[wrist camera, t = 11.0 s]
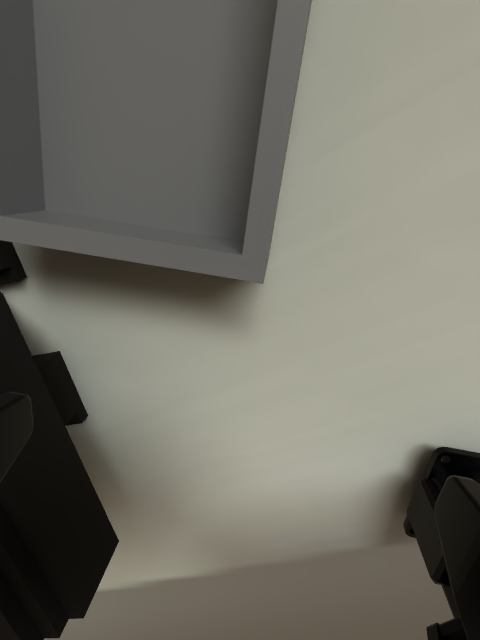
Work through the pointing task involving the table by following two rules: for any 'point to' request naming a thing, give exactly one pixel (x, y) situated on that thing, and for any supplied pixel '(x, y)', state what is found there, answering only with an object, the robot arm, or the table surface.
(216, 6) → the gray open-top storage bin
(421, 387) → the table surface
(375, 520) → the table surface
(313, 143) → the table surface
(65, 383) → the black stepped block
